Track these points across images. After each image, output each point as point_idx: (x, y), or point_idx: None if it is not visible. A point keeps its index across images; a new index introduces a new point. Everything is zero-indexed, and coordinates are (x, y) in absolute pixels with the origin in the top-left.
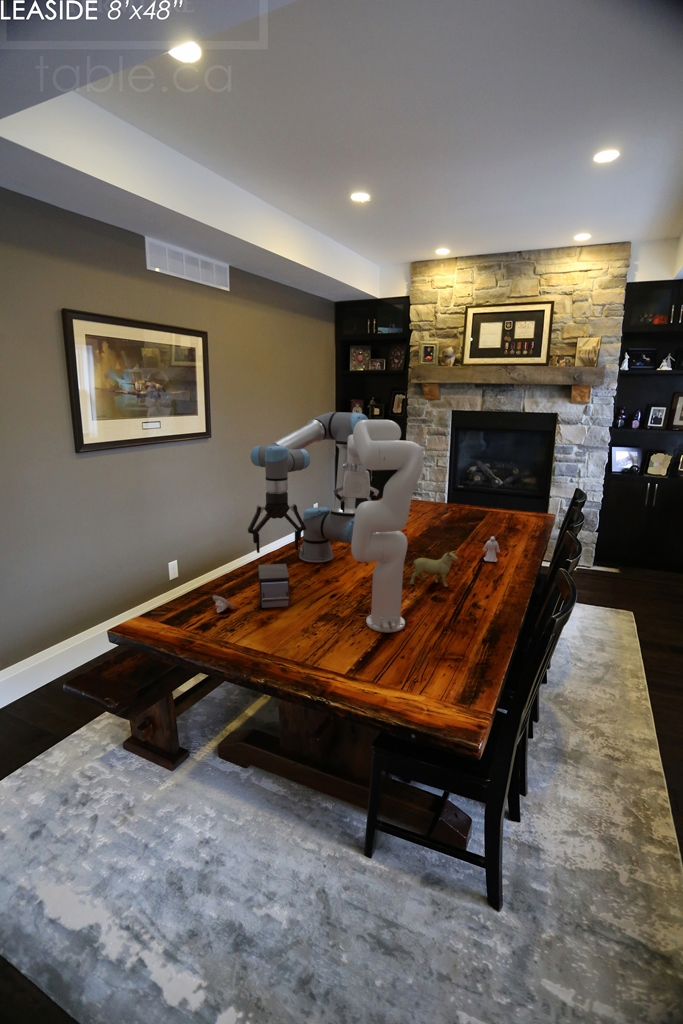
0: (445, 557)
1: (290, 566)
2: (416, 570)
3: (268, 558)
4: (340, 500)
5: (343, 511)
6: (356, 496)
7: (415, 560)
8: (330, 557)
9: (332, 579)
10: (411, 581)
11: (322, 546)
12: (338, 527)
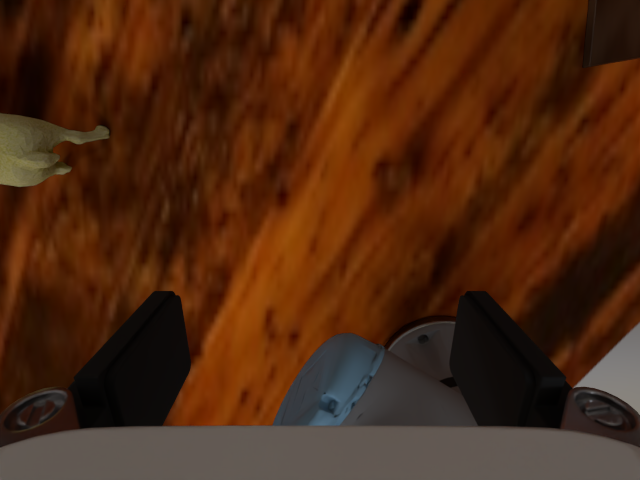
0: None
1: (529, 297)
2: (48, 126)
3: (591, 362)
4: (630, 413)
5: (476, 293)
6: (323, 452)
7: (27, 156)
8: (393, 347)
9: (397, 182)
10: (100, 131)
11: (436, 371)
12: (406, 389)
